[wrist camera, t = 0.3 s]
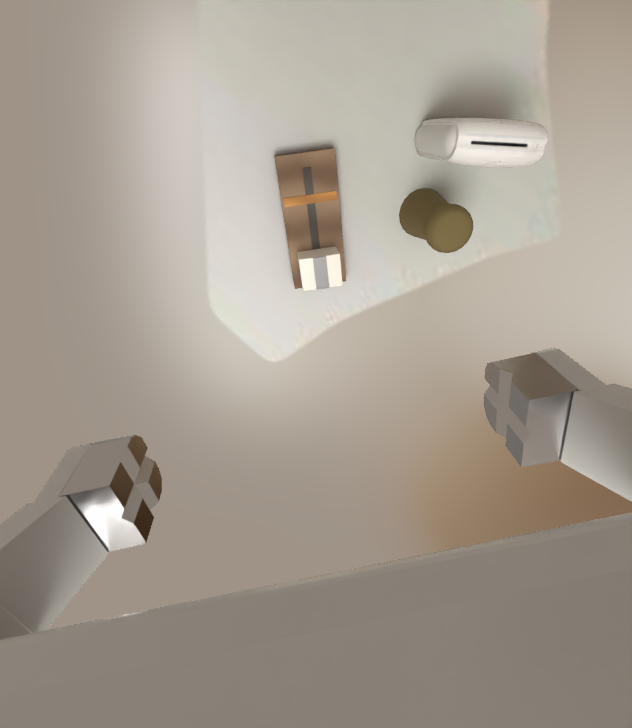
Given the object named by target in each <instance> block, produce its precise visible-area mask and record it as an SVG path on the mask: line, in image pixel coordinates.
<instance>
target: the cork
mask: <svg viewBox="0 0 632 728" xmlns="http://www.w3.org/2000/svg"><path fill="white" fill-rule="evenodd" d="M399 217H400V223H401V226H402V228H403V229H404V230H405V231H406V232H407V233H408V234H410V235H412V236H415V237H418V238H421V239H425V240H427V242H428V244H429V245H430V246H431V247H432V248H433V249H434V250H436V251H438V252H444V253H450V252H455V251H457V250H458V249H460V248H462V247H463V246H464V245H465V244H466V243H467V242H468V240H469V238H470V237H471V234H472V231H473V220H472V217H471V215H470V213H469V212H468V211H467V210H466V209H465V208H463V207H462V206H460V205H457V204H449V203H448V202H446V201H445V200H444V199H443V198H442V197H441V196H440V195H439V194H438V193H437V192H436V191H434V190H432V189H426V188H423V189H419V190H416V191H414V192H413V193H411V194H410V195H409V196H408V197H407V198H406V199H405V200H404V202H403V204H402V206H401V209H400V214H399Z"/></svg>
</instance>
